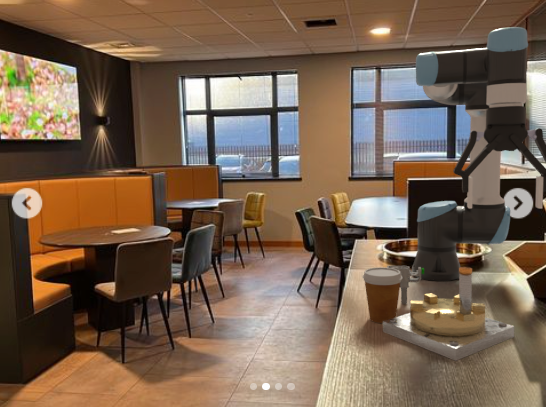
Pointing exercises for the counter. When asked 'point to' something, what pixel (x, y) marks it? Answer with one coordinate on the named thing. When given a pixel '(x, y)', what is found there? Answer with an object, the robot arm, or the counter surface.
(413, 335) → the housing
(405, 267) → the mechanical component
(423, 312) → the brass turntable plate
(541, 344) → the counter surface
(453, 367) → the counter surface
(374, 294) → the disposable coffee cup
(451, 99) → the robot arm
